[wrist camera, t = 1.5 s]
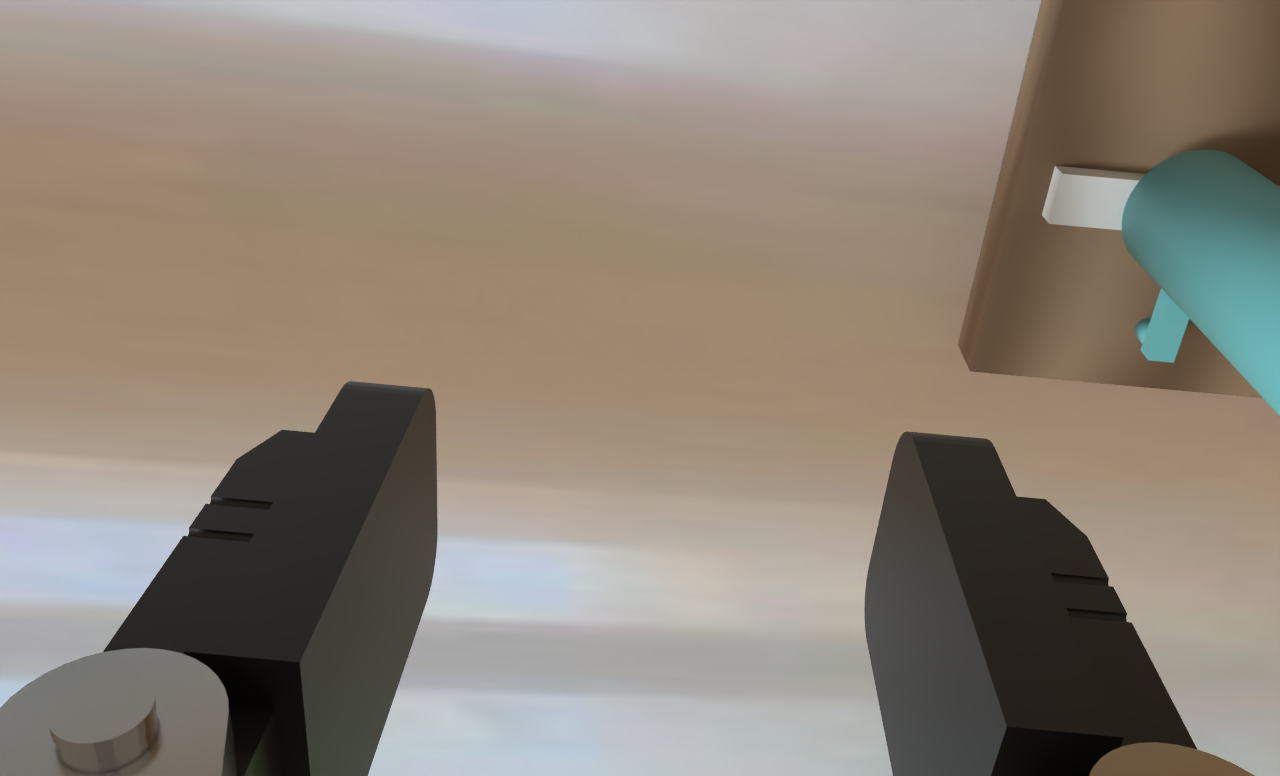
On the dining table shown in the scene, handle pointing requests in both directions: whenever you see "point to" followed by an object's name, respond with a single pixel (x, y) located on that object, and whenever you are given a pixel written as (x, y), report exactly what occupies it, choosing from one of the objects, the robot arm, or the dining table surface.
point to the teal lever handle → (1211, 261)
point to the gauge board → (1114, 182)
